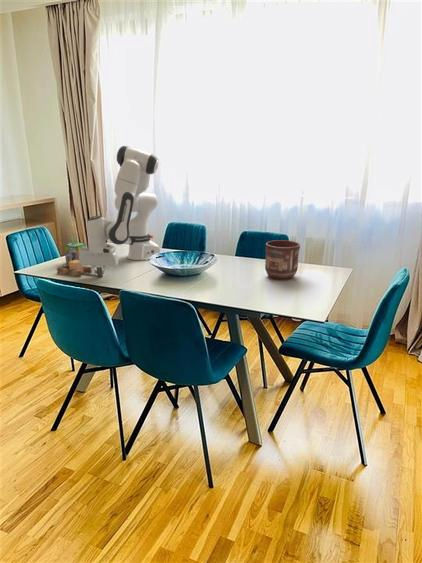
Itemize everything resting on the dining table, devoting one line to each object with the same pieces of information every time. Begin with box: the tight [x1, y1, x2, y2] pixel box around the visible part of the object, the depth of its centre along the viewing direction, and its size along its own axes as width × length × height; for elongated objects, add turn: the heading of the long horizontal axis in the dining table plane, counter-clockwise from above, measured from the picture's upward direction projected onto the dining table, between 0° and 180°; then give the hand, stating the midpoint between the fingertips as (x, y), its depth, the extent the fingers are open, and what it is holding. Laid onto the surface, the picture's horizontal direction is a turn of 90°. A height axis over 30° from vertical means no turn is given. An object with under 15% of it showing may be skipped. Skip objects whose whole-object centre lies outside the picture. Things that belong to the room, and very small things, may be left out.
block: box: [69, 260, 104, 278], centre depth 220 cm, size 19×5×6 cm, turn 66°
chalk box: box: [63, 237, 87, 265], centre depth 240 cm, size 9×9×15 cm
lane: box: [56, 264, 93, 278], centre depth 224 cm, size 15×9×3 cm, turn 66°
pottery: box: [264, 239, 301, 280], centre depth 218 cm, size 18×18×18 cm
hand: (99, 273), depth 218 cm, fingers closed on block, 3 cm apart
